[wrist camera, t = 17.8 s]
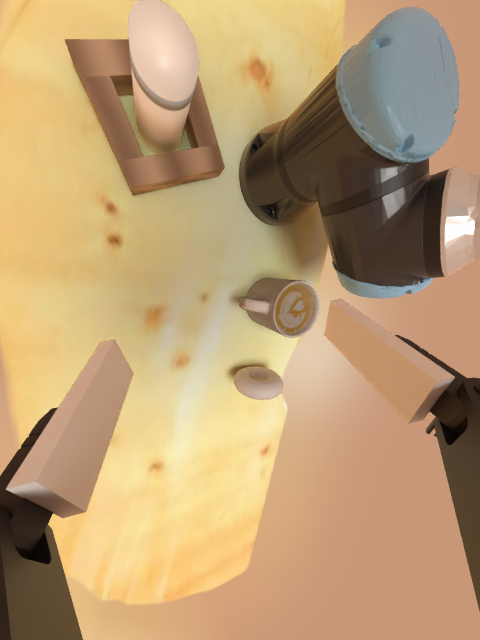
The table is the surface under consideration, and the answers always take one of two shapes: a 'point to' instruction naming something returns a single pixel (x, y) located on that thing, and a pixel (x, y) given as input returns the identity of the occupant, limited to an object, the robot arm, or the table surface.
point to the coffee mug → (282, 305)
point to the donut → (258, 383)
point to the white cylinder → (161, 73)
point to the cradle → (103, 89)
